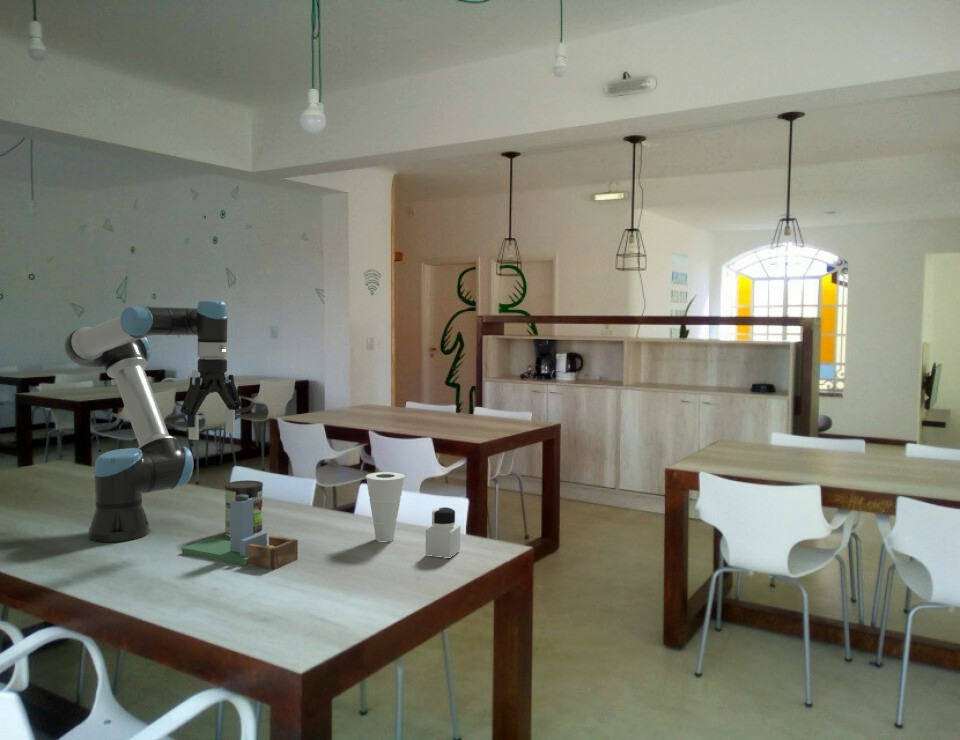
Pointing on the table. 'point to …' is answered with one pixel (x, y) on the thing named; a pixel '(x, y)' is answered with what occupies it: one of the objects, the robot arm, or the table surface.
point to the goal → (273, 553)
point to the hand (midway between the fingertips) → (212, 436)
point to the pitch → (215, 551)
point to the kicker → (243, 526)
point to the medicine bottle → (443, 533)
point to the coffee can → (253, 492)
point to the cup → (385, 502)
